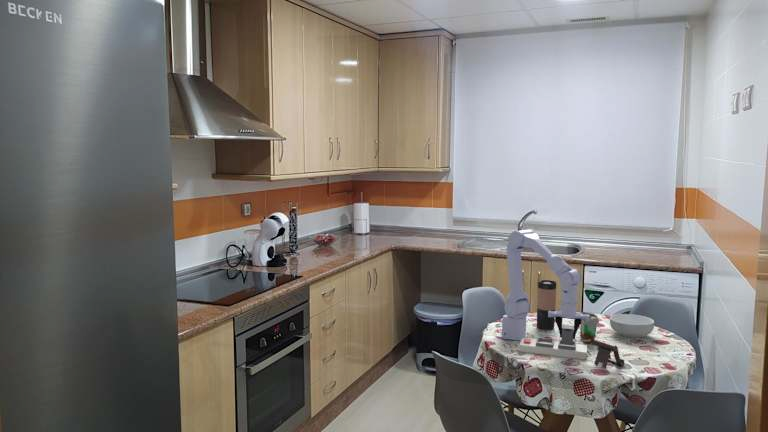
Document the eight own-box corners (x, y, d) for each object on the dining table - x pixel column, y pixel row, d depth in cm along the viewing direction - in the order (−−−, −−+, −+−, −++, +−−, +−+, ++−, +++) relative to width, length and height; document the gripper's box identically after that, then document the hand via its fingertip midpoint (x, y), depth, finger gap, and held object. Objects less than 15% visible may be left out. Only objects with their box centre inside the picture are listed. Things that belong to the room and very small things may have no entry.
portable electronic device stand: (624, 366, 210) (626, 343, 209) (610, 370, 206) (611, 347, 205) (603, 358, 217) (604, 336, 217) (589, 362, 213) (590, 340, 212)
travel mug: (556, 330, 250) (558, 284, 248) (538, 330, 250) (540, 283, 248) (551, 325, 258) (553, 280, 256) (534, 325, 258) (536, 279, 256)
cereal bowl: (633, 328, 255) (634, 312, 255) (662, 339, 240) (663, 322, 239) (600, 331, 250) (601, 315, 249) (628, 343, 234) (629, 326, 234)
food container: (600, 345, 232) (601, 320, 231) (583, 344, 233) (584, 319, 232) (595, 336, 244) (596, 312, 243) (579, 335, 245) (580, 311, 244)
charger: (561, 343, 221) (562, 328, 220) (562, 339, 225) (562, 324, 225) (572, 345, 219) (573, 329, 219) (573, 341, 224) (573, 325, 223)
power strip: (519, 351, 224) (519, 341, 224) (521, 344, 233) (522, 334, 232) (586, 359, 216) (586, 349, 216) (586, 351, 225) (587, 341, 224)
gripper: (548, 302, 219) (546, 338, 221) (589, 306, 215) (587, 343, 216) (549, 298, 226) (547, 332, 227) (589, 301, 221) (588, 337, 223)
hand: (567, 337), depth 222 cm, fingers closed on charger, 4 cm apart
